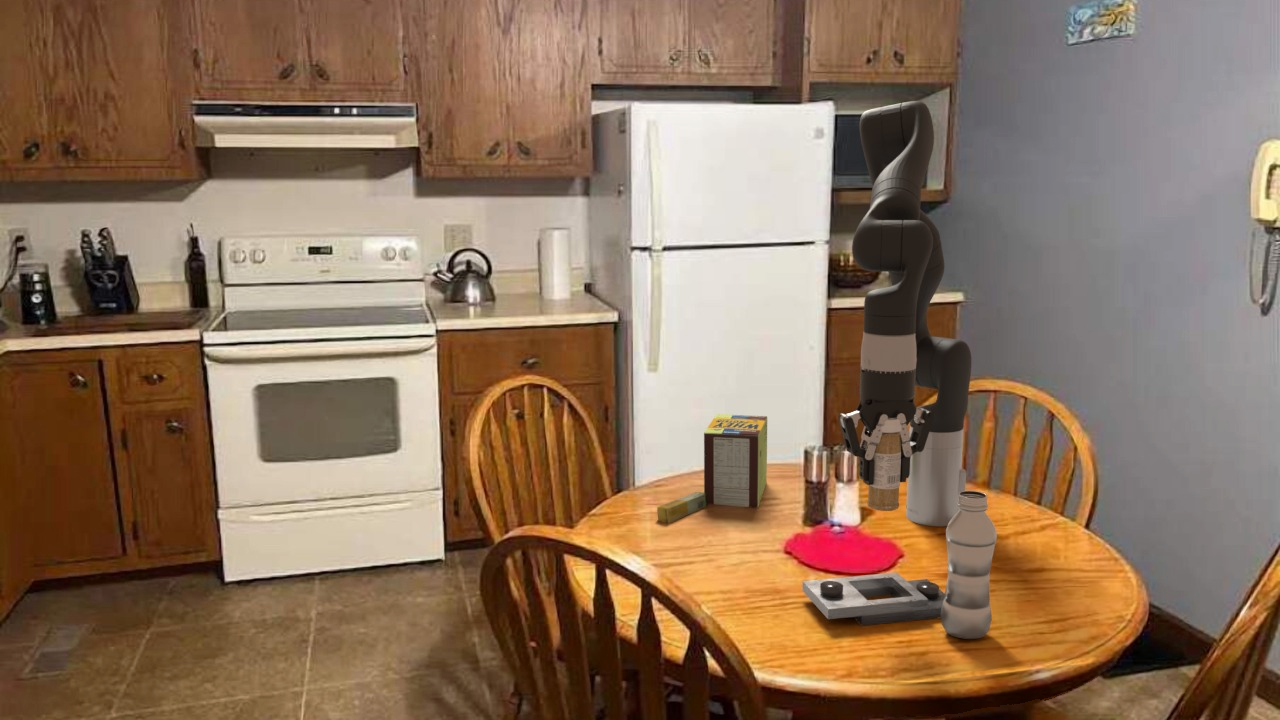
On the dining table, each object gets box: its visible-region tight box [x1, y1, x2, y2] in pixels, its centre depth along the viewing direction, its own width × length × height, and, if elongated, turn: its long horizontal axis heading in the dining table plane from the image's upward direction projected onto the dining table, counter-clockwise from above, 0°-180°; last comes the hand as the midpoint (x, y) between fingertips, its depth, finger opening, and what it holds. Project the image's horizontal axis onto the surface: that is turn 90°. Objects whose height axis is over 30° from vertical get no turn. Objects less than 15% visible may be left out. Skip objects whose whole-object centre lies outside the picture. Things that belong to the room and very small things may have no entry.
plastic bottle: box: [940, 490, 998, 640], centre depth 135 cm, size 6×7×20 cm
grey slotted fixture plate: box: [801, 572, 928, 620], centre depth 145 cm, size 15×10×3 cm, turn 101°
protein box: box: [703, 413, 768, 508], centre depth 193 cm, size 10×15×16 cm
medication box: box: [656, 491, 708, 524], centre depth 183 cm, size 12×3×4 cm, turn 141°
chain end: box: [852, 578, 945, 627], centre depth 146 cm, size 15×10×3 cm, turn 101°
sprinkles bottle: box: [866, 418, 902, 512], centre depth 142 cm, size 5×5×14 cm
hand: (884, 481), depth 142 cm, fingers closed on sprinkles bottle, 4 cm apart
